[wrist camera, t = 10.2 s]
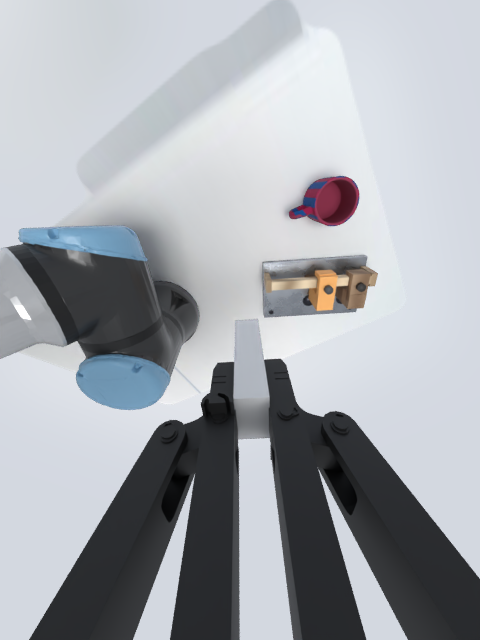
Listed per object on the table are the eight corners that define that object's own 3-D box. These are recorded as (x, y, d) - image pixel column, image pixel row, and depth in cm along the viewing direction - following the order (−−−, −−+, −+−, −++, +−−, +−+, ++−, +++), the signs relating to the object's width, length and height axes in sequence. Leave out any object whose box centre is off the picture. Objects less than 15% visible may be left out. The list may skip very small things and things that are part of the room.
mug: (341, 216, 42) (358, 221, 36) (286, 228, 43) (294, 234, 37) (341, 174, 38) (360, 171, 33) (282, 187, 39) (290, 187, 33)
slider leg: (307, 303, 49) (317, 318, 43) (311, 266, 45) (322, 278, 39) (322, 302, 48) (333, 317, 43) (326, 265, 45) (340, 277, 39)
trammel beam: (264, 305, 49) (267, 321, 43) (263, 270, 45) (267, 282, 39) (358, 299, 49) (375, 314, 42) (365, 263, 45) (385, 274, 39)
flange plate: (263, 314, 52) (264, 317, 50) (263, 262, 46) (263, 263, 45) (353, 309, 51) (356, 312, 50) (364, 255, 45) (367, 256, 44)
